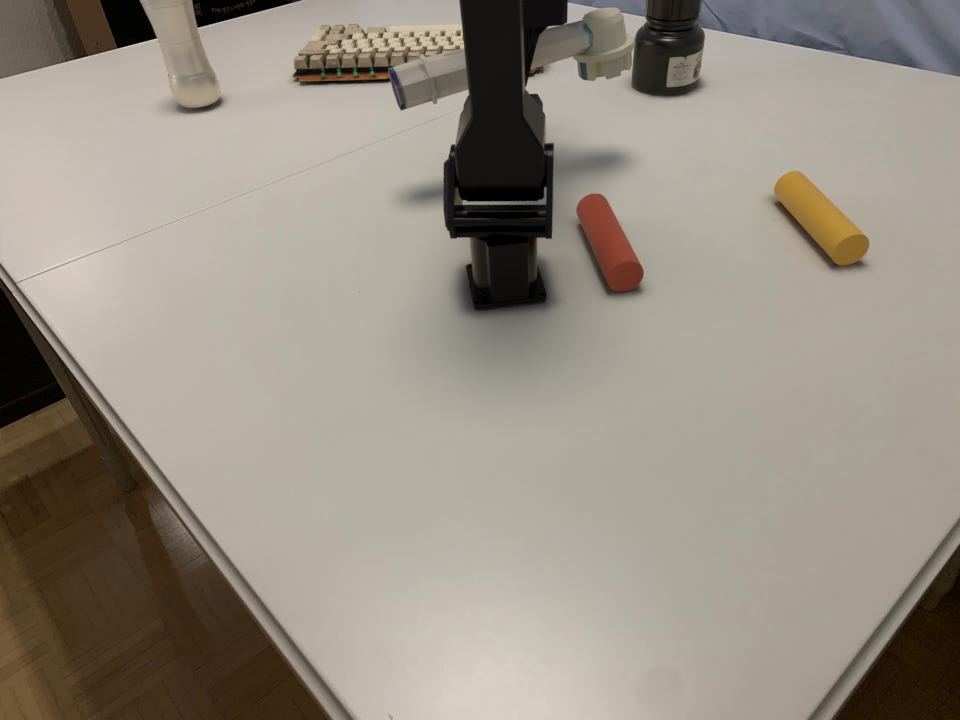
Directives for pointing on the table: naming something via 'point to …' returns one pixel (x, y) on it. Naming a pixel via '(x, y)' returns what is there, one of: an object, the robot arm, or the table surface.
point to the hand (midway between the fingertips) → (515, 78)
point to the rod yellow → (821, 218)
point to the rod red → (609, 243)
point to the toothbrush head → (587, 41)
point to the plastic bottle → (183, 52)
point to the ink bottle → (668, 47)
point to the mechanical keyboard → (372, 50)
